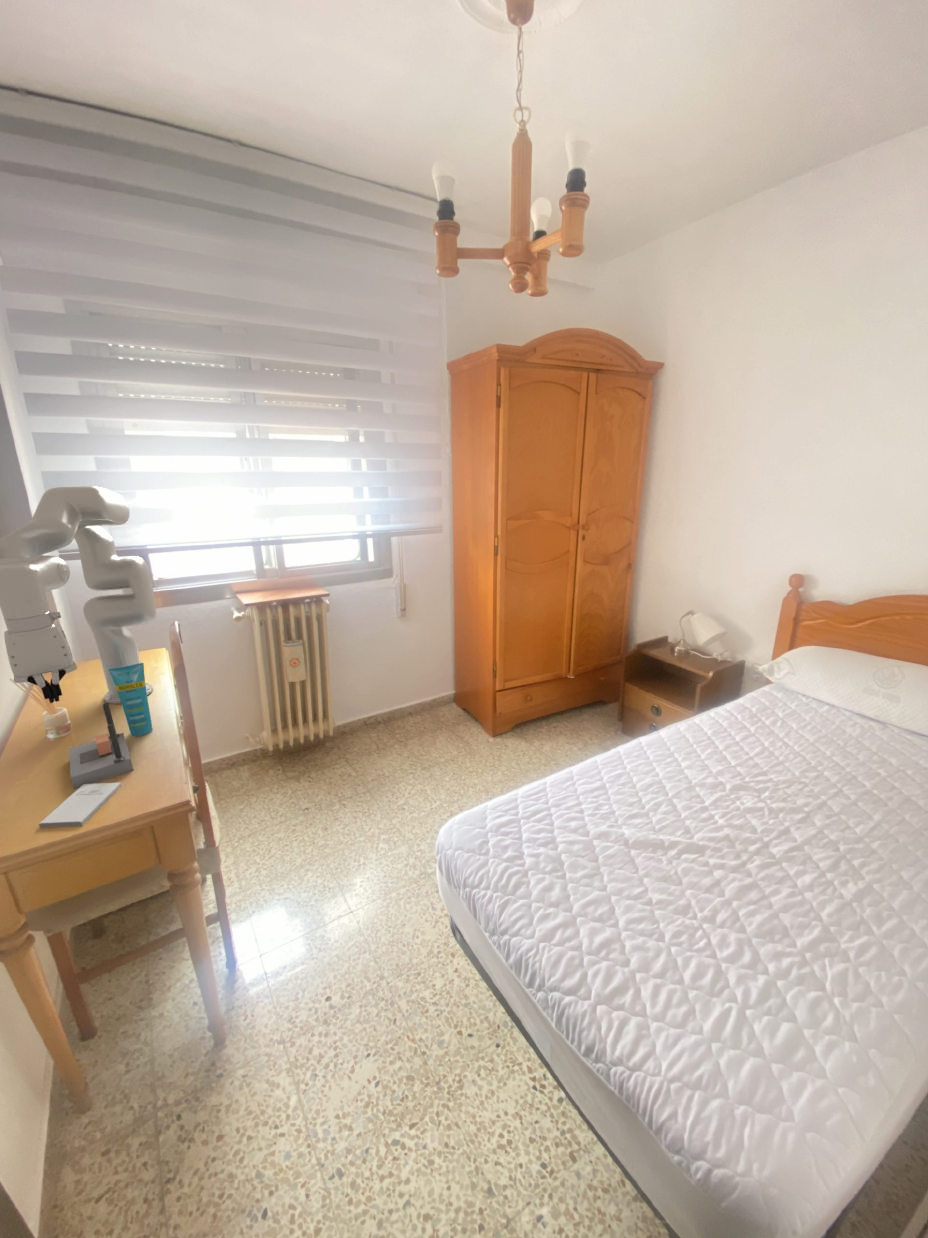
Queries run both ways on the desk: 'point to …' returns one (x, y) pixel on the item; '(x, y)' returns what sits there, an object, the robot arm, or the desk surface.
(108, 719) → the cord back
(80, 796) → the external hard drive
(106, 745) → the block
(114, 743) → the cord front
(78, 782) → the grey switch base
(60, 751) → the desk surface
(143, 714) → the tube
